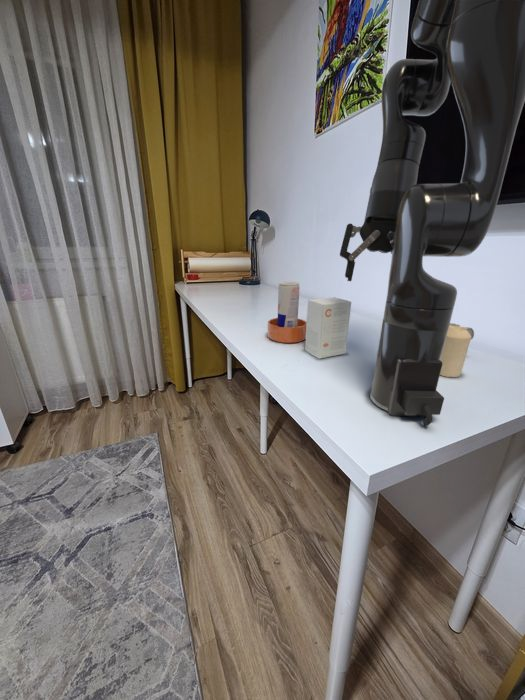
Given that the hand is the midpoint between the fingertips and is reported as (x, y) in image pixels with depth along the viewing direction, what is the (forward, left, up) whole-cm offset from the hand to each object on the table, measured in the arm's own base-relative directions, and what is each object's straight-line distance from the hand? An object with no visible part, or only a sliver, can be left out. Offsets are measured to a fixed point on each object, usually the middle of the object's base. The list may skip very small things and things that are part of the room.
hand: (371, 284), depth 57 cm
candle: (-1, -18, -18) cm, 26 cm away
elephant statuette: (+10, -25, -18) cm, 32 cm away
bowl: (+20, +15, -18) cm, 31 cm away
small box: (+9, +6, -18) cm, 21 cm away
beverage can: (+20, +15, -18) cm, 31 cm away
